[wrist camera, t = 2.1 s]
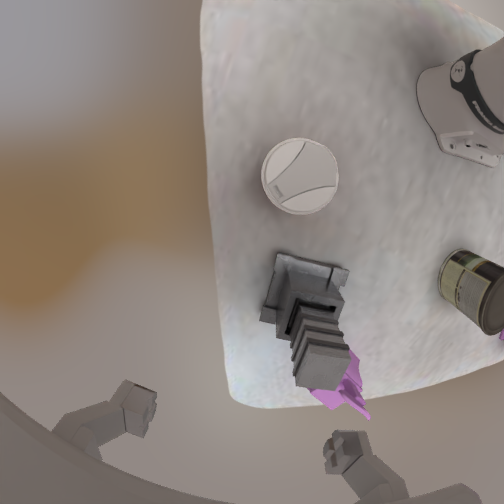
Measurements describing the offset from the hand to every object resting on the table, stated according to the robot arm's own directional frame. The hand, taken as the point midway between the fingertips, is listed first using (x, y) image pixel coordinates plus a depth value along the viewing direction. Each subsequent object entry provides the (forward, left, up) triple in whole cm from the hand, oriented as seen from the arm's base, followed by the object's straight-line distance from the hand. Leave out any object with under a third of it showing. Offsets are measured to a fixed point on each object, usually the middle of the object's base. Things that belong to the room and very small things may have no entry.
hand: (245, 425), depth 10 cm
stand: (-7, +5, -32) cm, 33 cm away
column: (-7, +5, -29) cm, 31 cm away
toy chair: (-17, +18, -32) cm, 40 cm away
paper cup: (-1, -11, -32) cm, 34 cm away
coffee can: (-36, -4, -32) cm, 49 cm away
